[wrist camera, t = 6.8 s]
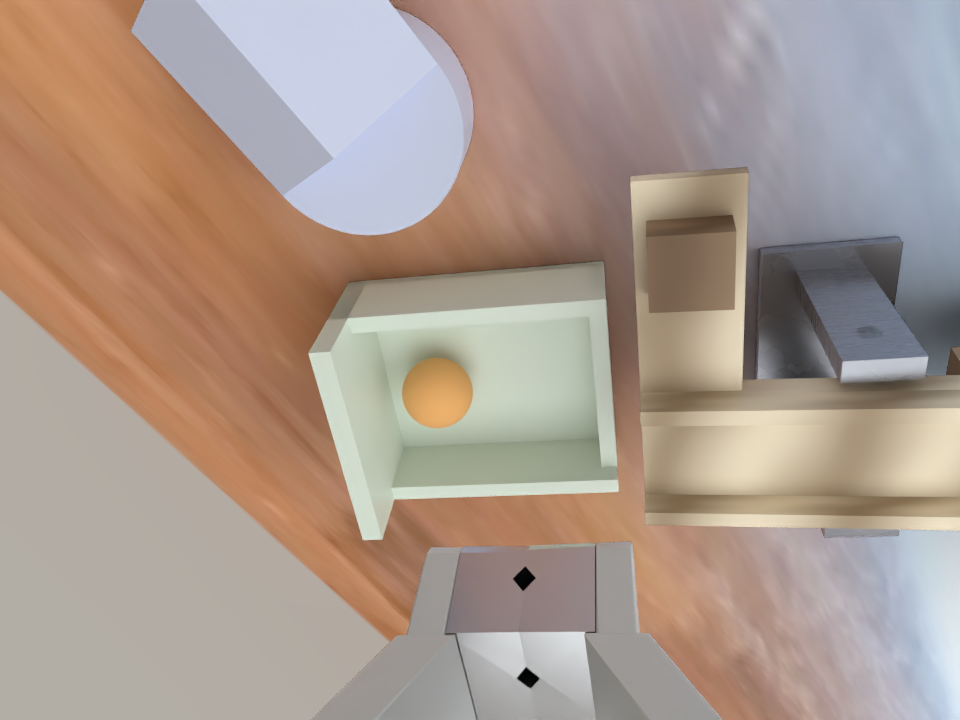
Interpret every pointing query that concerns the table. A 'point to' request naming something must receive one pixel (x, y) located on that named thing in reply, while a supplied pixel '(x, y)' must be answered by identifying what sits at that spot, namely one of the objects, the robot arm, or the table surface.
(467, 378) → the ball
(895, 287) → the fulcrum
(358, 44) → the wedge on round base
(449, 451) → the tray
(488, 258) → the table surface
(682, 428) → the lever
